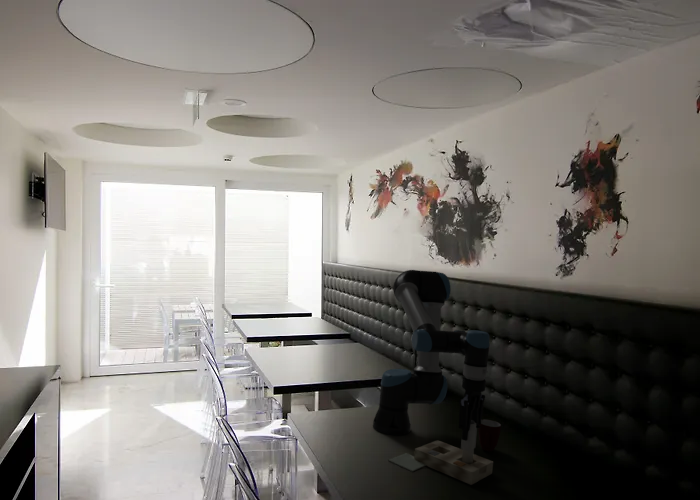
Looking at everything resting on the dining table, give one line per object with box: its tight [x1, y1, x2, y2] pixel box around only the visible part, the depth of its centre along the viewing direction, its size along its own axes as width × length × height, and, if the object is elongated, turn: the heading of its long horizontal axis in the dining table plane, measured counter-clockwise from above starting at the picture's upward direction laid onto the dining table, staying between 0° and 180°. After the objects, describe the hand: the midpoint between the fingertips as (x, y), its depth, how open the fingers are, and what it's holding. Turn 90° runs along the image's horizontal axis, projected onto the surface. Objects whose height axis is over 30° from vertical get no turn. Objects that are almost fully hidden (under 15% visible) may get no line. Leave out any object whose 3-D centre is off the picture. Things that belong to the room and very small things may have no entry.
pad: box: [387, 452, 427, 473], centre depth 170 cm, size 10×10×1 cm
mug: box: [477, 418, 502, 453], centre depth 187 cm, size 10×8×10 cm
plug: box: [462, 420, 476, 465], centre depth 166 cm, size 4×4×15 cm
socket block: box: [413, 439, 494, 486], centre depth 170 cm, size 22×14×4 cm, turn 47°
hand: (468, 447), depth 166 cm, fingers closed on plug, 3 cm apart
